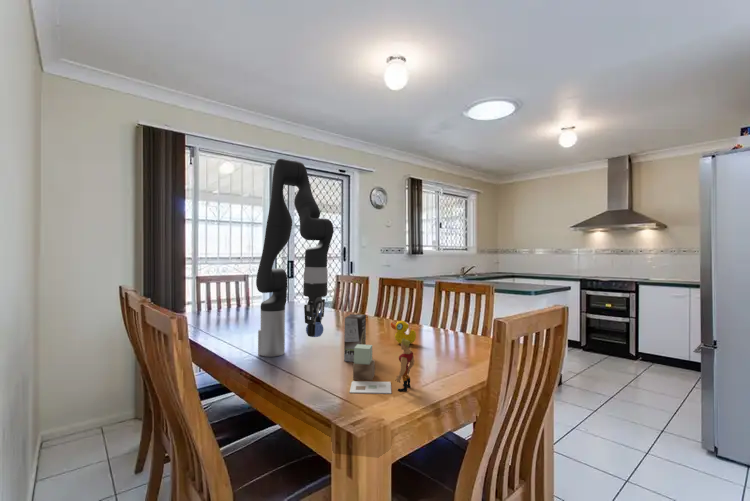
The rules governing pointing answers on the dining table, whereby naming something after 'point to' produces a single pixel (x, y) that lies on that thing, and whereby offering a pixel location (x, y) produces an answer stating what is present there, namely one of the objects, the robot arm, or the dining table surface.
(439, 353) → the dining table surface
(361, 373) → the base block
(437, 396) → the dining table surface
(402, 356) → the action figure
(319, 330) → the decorative dice
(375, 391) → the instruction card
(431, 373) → the dining table surface
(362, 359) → the sage cube
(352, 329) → the coffee box
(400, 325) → the duckling
